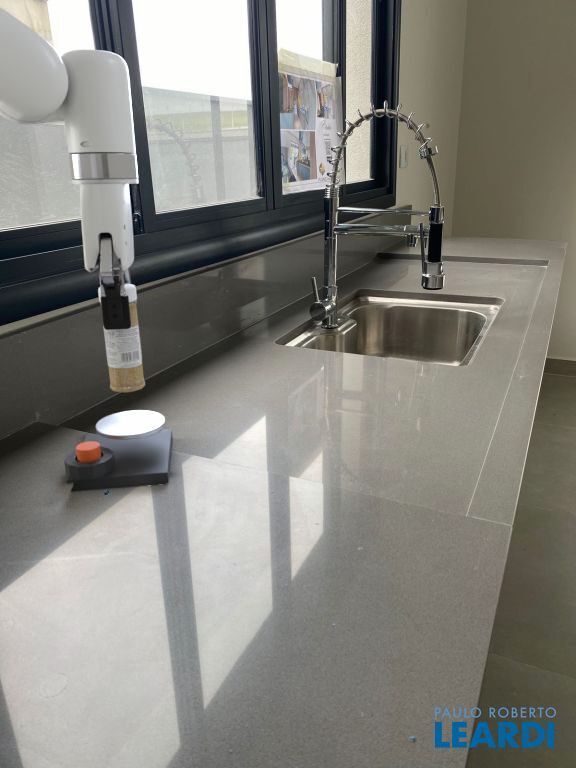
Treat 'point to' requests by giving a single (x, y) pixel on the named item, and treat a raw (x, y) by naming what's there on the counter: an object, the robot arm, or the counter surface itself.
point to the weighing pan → (130, 424)
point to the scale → (123, 463)
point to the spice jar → (125, 350)
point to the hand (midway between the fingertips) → (120, 322)
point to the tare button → (88, 451)
